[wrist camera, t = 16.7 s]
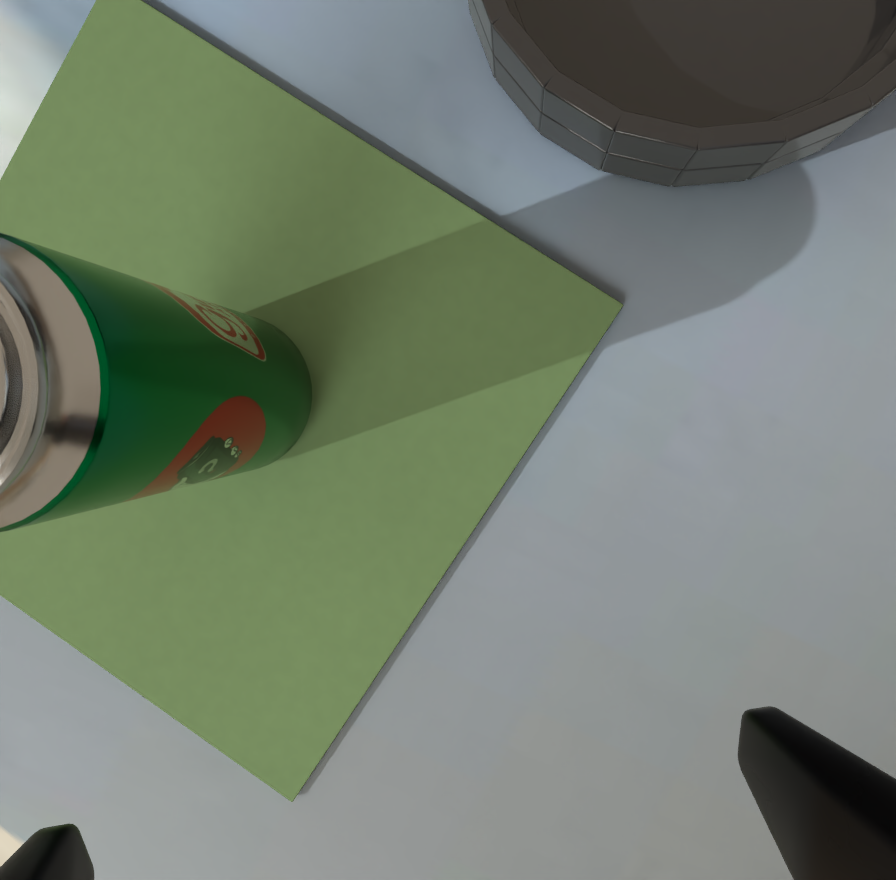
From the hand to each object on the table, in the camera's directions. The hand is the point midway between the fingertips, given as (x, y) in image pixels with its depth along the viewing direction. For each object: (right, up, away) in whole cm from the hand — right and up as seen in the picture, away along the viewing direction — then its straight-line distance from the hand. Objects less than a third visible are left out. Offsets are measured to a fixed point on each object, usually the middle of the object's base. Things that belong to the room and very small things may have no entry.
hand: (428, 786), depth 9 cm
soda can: (-7, +6, +13) cm, 16 cm away
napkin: (-8, +6, +13) cm, 17 cm away
